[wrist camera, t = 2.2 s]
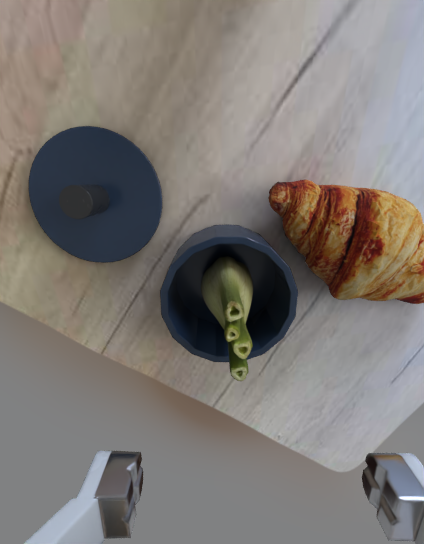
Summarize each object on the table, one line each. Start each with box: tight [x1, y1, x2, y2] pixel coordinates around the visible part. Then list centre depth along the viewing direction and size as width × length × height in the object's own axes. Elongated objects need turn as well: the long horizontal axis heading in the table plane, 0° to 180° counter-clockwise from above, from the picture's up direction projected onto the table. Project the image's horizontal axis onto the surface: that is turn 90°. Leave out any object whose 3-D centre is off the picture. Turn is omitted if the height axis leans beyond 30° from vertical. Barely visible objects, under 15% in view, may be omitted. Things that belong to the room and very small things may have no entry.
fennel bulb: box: [201, 256, 253, 381], centre depth 24 cm, size 6×5×12 cm
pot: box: [160, 225, 298, 362], centre depth 27 cm, size 11×11×6 cm
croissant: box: [269, 180, 424, 304], centre depth 26 cm, size 21×10×8 cm, turn 62°
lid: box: [29, 126, 162, 263], centre depth 25 cm, size 12×12×5 cm
